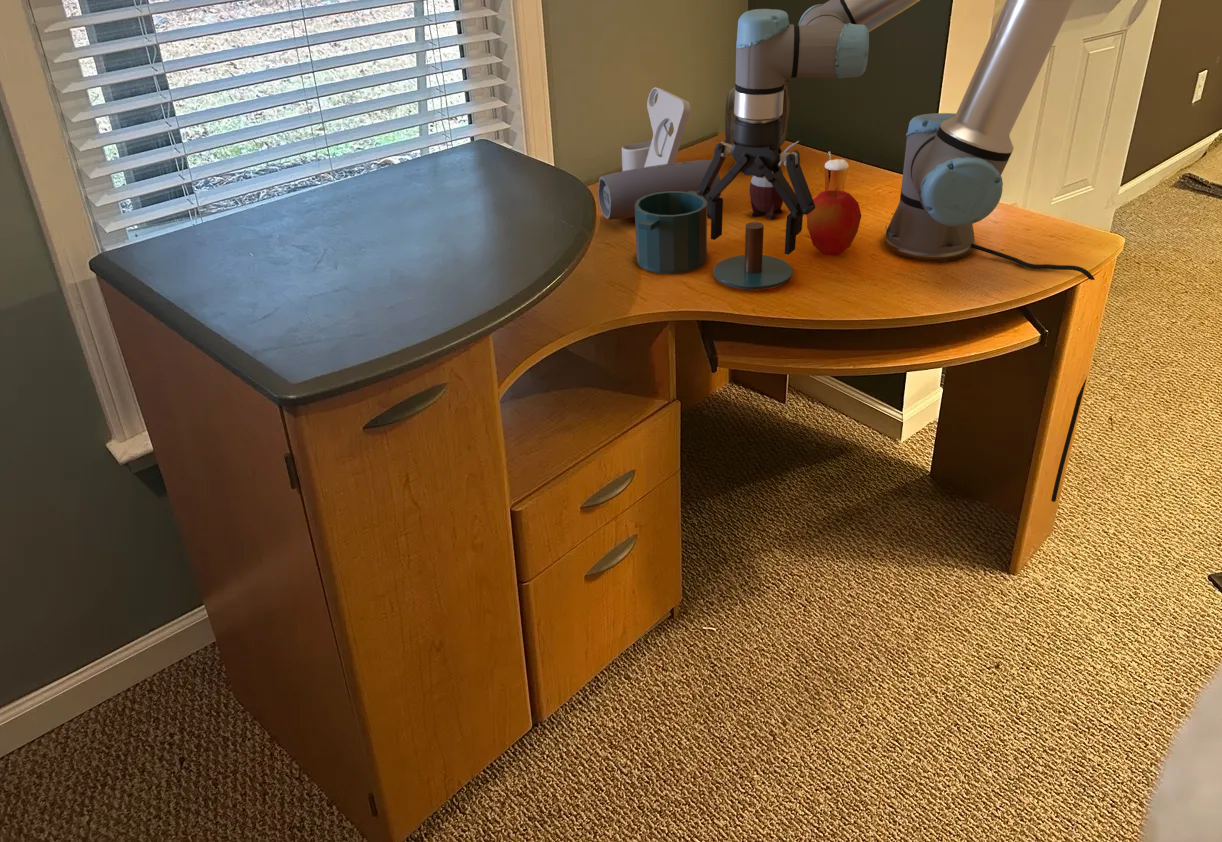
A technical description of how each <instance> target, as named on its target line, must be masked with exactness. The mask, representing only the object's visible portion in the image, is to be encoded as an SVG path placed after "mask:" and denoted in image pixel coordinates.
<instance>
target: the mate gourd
mask: <svg viewBox="0 0 1222 842" xmlns="http://www.w3.org/2000/svg"><path fill="white" fill-rule="evenodd" d="M799 143H800V140H797V141H795V142H793V143H792V144H790V145H788V147H786V148H785V149H784V150H783V151H782V152H786V153H789V151H790V150H791V149H792V148H794V147H795V146H796V145H797V144H799ZM783 164H784V163H783V161H780V162H779V163H778V165H779V166H780V168H781V167H782V165H783ZM772 173H773V171H772ZM773 174H774V173H773ZM749 198H750V206H751V210H752V212H751V217H752V218H753V217H754V218H755V217H760V216H761V217H763V216H766V217H767V218H768V219H770V220H775V218H776V217H775V215H776V214H782V213H783V209H782V206H783V204H784V202H783V200H782V199H781V197H780V196H779V194H778V193H777V191H776V190H775V188H774V187H773V185H772V184H771V183H770V182H768V180H767V179H766V177H762V178H759V177H756V176H754V175H752V177H751V180H750V182H749ZM774 214H775V215H774Z"/></svg>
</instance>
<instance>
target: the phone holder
mask: <svg viewBox="0 0 1222 842" xmlns="http://www.w3.org/2000/svg"><path fill="white" fill-rule="evenodd" d="M646 107H647V112H648V116H649V120H650V126H651V130H652V138H651V140H648V141H647V140H646V141H642V142H641V141H640V142H636V143H629V144H625V145H623V146H622V147H621V169H622V170H621V172H622V171H627V170H632V169H637V168H643V167H649V166H656V165H663V164H670V163H676V159H677V156H678V152H679V150H680V146H681V143H682V140H683V137H684V133H685V130H686V126H687V123H688V120H689V116H690V113H691V104H690V101H688V100H685V99H684V98H681V97H680V96H677V95H675V94H673V93H672V92H669V91H667V90H665V89H663V88H660V87H652V88H651V90H650V92H649V94H648V97H647V102H646ZM672 125H673V132H672V133H671V135H670V130H671V129H670V128H671V126H672Z"/></svg>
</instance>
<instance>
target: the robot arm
mask: <svg viewBox="0 0 1222 842" xmlns="http://www.w3.org/2000/svg"><path fill="white" fill-rule="evenodd" d="M920 1H921V0H827V1H826V2H824V3H819V4H814V5H813V6H810V7H809V8H808V9H807V10H805V11H804V12H803V13H802V15H801V17H800V19H799V22H798V24H790V21H789V15H788V12H787V11H784V10H782V9H774V8H773V9H771V8H757V9H750V10H747V11H745V12H743V13H742V14H741V15H740V17H739V18H738V20H737V31H736V32H737V33H736V43H735V84H734V85H735V86H734V87H735V105H734V114H735V115H736V116H737V117H736V118H735V119H734V136H733V139H734V145H731V144H728V142H727V141H726V139H724V140H721V141H720V142H718V143H716V144H715V146H714V152H713V157H712V159H711V160H712V161H711V163H710V165H709V167H708V169H707V171H706V173H705V175H704V177H703V179H702V181H701V183H700V185H699V187H698V189H697V191H696V192H697V195H699V196H701V195H702V196H703V197H705V198H706V199H707V219H710V240H712V241H715V240H717V239H718V238H719V237H721V236H722V235H723V209H724V208H723V207H724V197H720V198H718V199H717V196H719V195H720V193H721V194H722V192H723V191H725V189H726V188H728V186H729V185H730V184H731V183H733V181H734V180H735V179H736V178H737V177H738V176H739V175H740V174H741V173H742V174H743V175H744V176H746V177H751V176H756V177H759V178H762V177H766V179H767V180H768V182H770V183H771V184H772V185H773V187H774V188H775V190H776V191H777V193H778V194H779V196H780V197H781V199H782V200H783V204H784V205H785V206H786V208H787V210H788V211H789V212H790V213H789V214H788V215H786V221H785V222H786V223H785V235H784V236H785V239H784V251H783V253H784V255H786V256H787V255H788V256H790V254H792V253H793V252H794V251H795V250H796V244H797V236H798V235H799V234H801V233H802V230H803V221H804V215H805V216H807V214H809V213H810V212H811V211H813V210H814V209H815V204H814V201H813V199H814V198H813V196H812V194H811V190H810V188H809V185H808V183H807V180H806V177H805V173H804V172H803V170H802V167H801V157H800V155H801V154H800V152H799V151H798V150H793V151H792V152H787V153H786V152H783V151H782V147H781V146H780V143H781V134H782V119H781V118H780V116H781V115H782V113H783V96H784V81H785V80H786V78H787V79H789V78H790V79H797V78H798V79H839V80H842V79H846V78H847V79H848V78H858V77H860V76H862V75H863V74H865V72H866V69H867V66H868V59H869V49H870V32H872V31H873V30H875V29H876V28H878V27H880V26H882V25H884V23H886V22H888V21H889V20H891V19H892V18H894V17H896V16H898V15H899V14H901V13H902V12H904V11H906V10H907V9H909V8H910V7H912V6H913V5H915V4H917V3H918V2H920ZM1074 1H1075V0H1005V3H1004V5H1003V7H1002V9H1001V11H1000V13H999V16H998V18H997V21H996V23H995V26H994V27H993V30H992V32H991V34H990V36H989V39H988V41H987V43H986V45H985V48H984V50H983V53H982V55H981V57H980V59H979V61H978V63H977V66H976V68H975V70H974V72H973V75H972V77H971V79H970V82H969V83H968V85H967V88H966V91H965V93H964V95H963V96H962V100H961V101H960V104H959V107H958V108H957V112H956V113H953V112H951V113H950V112H937V113H935V112H934V113H924V114H920V115H916V116H913V118H911V120H910V121H909V123H908V129H907V132H906V134H905V137H906V144H905V153H904V160H903V161H904V162H903V170H902V179H901V189H900V195H899V202H898V205H897V207H896V209H895V211H894V214H893V215H892V217H891V219H890V222H889V224H888V225H887V224H885V235H884V246H885V247H886V249H887V250H888V251H890V252H891V253H893V254H895V255H896V256H900V257H902V258H906V259H909V260H915V261H920V262H931V263H935V262H950V261H956V260H959V259H963V258H966V257H967V256H970V255H971V254H972V252H973V251H974V250H977V251H980V252H983V253H987V254H989V255H993V256H995V257H998V258H1001V259H1004V260H1007V261H1011V262H1013V263H1016V264H1017V265H1019V266H1022V267H1024V268H1028V269H1033V270H1054V271H1055V270H1057V271H1075V272H1076V271H1077V272H1079V273H1081V274H1083V275H1084V276H1085V277H1086V278H1087V279H1088V280H1090V281H1095V280H1096V279H1095V277H1094V276H1093V274H1092V273H1091V272H1090V271H1089V270H1087V269H1086V268H1084V267H1082V266H1078V265H1072V264H1071V265H1070V264H1069V265H1068V264H1049V263H1048V264H1047V263H1044V264H1043V263H1042V264H1040V263H1038V264H1037V263H1030V262H1026V261H1025V260H1022V259H1020V258H1017V257H1014V256H1012V255H1009V254H1006V253H1004V252H1001V251H997V250H994V249H992V248H988V247H985V246H981V245H978V244H976V243H975V240H976V239H975V232H974V227H973V224H976V223H978V222H980V221H983V220H984V219H986V218H987V217H988V216H989V215H990V214H991V213H992V212H993V211H994V210H995V209H996V208H997V206H998V205H999V203H1000V200H1001V198H1002V195H1003V190H1004V189H1003V186H1004V181H1003V177H1002V175H1003V173H1004V170H1005V168H1006V166H1007V164H1008V162H1009V160H1010V157H1011V156H1012V153H1013V152H1014V149H1015V148H1014V144H1013V142H1012V140H1011V136H1010V134H1011V133H1012V130H1013V128H1014V126H1015V124H1016V122H1017V120H1018V117H1019V116H1020V114H1021V111H1022V110H1023V107H1024V106H1025V103H1026V101H1027V99H1028V97H1029V95H1030V93H1031V91H1032V89H1033V87H1034V84H1035V83H1036V81H1037V78H1038V76H1039V74H1040V72H1041V69H1042V67H1043V65H1044V63H1045V61H1046V60H1047V57H1048V55H1049V54H1050V51H1051V49H1052V47H1053V44H1054V43H1055V40H1056V38H1057V36H1058V34H1059V32H1060V31H1061V29H1062V25H1063V24H1064V22H1065V20H1066V17H1067V16H1068V14H1069V11H1070V9H1071V7H1072V5H1073V3H1074ZM730 154H731V156H732V158H733V160H734V161H735V163H734V164H733V165H732V166H731V167H730V169H728V171H727V173H725V175H723V177H722V178H720V181H719V182H718V183H717V184H716V186H715V187H714V188H713V189H711V188H710V187H711V186H712V184H713V182H714V180H715V178H716V176H717V174H718V172H719V173H720V170H721V168H722V166H723V164H724V163H725V161H726V158H727V157H728V156H730ZM780 161H783V163H782V164H783V166H784V167H785V168H786V172H787V176H788V178H789V181H790V183H789V182H788V180H787V178H786V176H785V174H784V171H783V170H782V168H781V167H780V166H779V162H780ZM772 171H773V173H774V174H773V173H772ZM790 184H791V185H792V186H791V185H790ZM720 196H721V195H720ZM1087 378H1088V376H1086V377H1085V379H1084V382H1083V384H1082V386H1081V388H1080V390H1079V392H1078V395H1077V396H1076V399H1075V403H1074V406H1073V407H1074V408H1073V411H1072V414H1071V415H1072V416H1071V419H1070V423H1069V426H1068V431H1067V434H1066V438H1065V443H1064V445H1063V449H1062V453H1061V457H1060V462H1059V465H1058V469H1057V473H1056V477H1055V482H1054V485H1053V490H1052V495H1051V499H1050V500H1051V502H1053V503H1056V501H1057V496H1058V492H1059V488H1060V485H1061V484H1060V483H1061V480H1062V475H1063V472H1064V468H1065V463H1066V459H1067V455H1068V451H1069V449H1070V444H1071V440H1072V437H1073V433H1074V429H1075V425H1076V421H1077V418H1078V415H1079V411H1080V407H1081V403H1082V400H1083V395H1084V391H1085V387H1086V383H1087Z"/></svg>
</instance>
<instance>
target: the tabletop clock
mask: <svg viewBox="0 0 1222 842" xmlns="http://www.w3.org/2000/svg"><path fill="white" fill-rule="evenodd" d="M725 99H726V100H725V115H724V134H725V140H726V141H727V142H728V144H731V145H734V139H733V136H734V119H735V118H736V117H737V116H736V115H735V114H734V105H735V86H733V87H731V88H730V89H729V90H728V92H727V93H726V98H725ZM790 113H791V85H790V81H789V80H786V79H785V81H784V96H783V113H782V115H781V116H780V118H781V119H782V134H781V143H780V147H781V146H783V144H785V142H786V140H787V138H788V133H789V128H790V127H789V126H790V115H791V114H790Z"/></svg>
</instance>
